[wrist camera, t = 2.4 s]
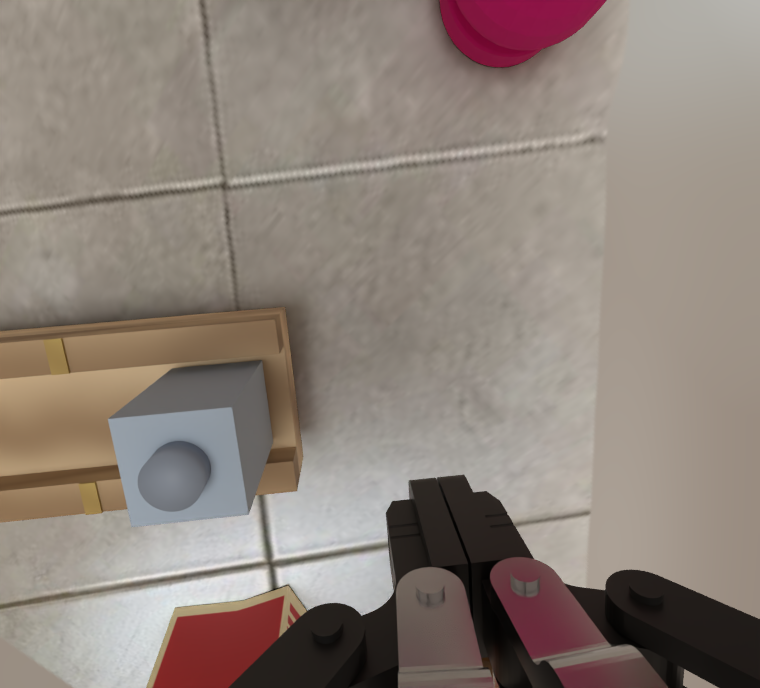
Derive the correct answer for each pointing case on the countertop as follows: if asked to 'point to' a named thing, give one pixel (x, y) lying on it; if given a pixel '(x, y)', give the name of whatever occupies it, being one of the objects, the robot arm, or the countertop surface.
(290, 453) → the beam
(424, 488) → the robot arm
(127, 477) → the rider
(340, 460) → the countertop surface
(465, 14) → the pepper mill
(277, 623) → the milk carton
